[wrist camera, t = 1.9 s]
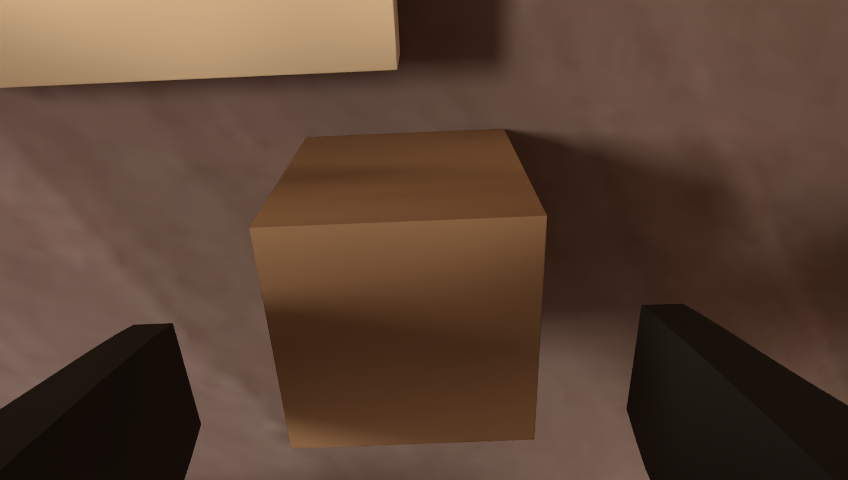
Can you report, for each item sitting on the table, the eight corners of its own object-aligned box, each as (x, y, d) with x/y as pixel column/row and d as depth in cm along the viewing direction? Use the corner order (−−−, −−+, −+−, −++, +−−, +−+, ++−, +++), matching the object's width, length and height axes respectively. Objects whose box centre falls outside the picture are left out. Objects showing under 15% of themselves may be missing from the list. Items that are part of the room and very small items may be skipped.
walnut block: (500, 296, 15) (534, 439, 11) (329, 303, 15) (291, 448, 11) (503, 128, 13) (547, 216, 9) (306, 136, 13) (249, 227, 9)
